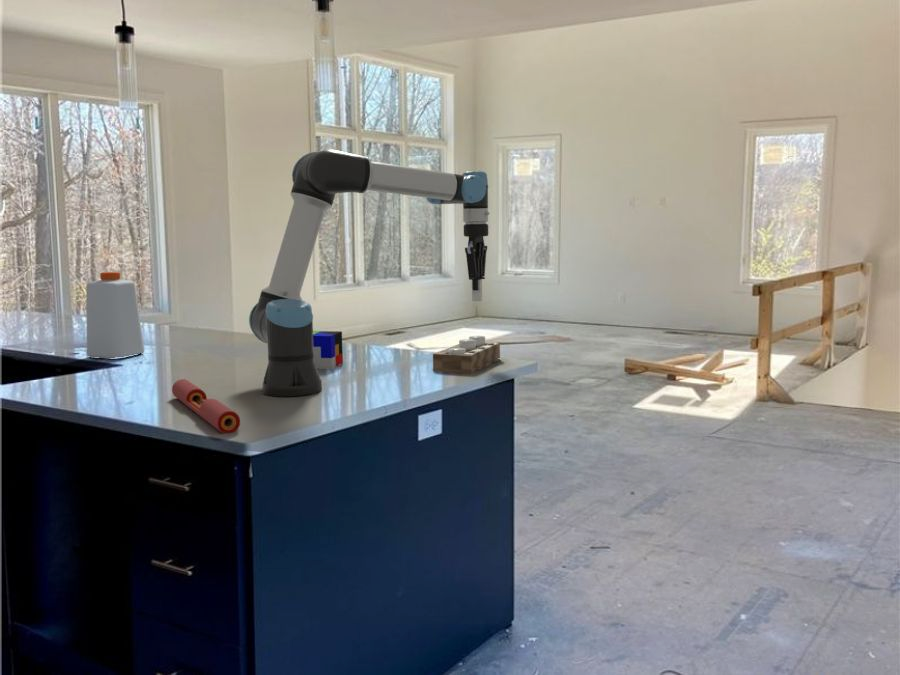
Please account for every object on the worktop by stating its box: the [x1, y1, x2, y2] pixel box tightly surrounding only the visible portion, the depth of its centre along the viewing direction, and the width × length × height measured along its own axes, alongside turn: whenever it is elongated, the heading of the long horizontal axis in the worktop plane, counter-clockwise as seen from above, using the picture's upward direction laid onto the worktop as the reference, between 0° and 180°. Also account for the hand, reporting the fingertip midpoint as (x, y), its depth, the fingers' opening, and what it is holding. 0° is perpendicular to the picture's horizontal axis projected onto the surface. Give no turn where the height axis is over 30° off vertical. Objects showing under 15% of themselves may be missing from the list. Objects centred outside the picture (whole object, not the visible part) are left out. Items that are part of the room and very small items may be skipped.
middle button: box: [458, 338, 476, 351], centre depth 247 cm, size 5×5×4 cm
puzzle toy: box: [313, 330, 344, 370], centre depth 249 cm, size 10×10×10 cm
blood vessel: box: [171, 379, 241, 434], centre depth 189 cm, size 42×5×5 cm, turn 31°
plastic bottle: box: [85, 271, 145, 358], centre depth 272 cm, size 15×15×28 cm
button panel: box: [432, 342, 501, 374], centre depth 247 cm, size 24×12×6 cm, turn 157°
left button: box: [449, 348, 466, 355], centre depth 239 cm, size 5×5×4 cm
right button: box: [468, 335, 486, 347], centre depth 254 cm, size 5×5×4 cm
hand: (477, 300), depth 252 cm, fingers closed
